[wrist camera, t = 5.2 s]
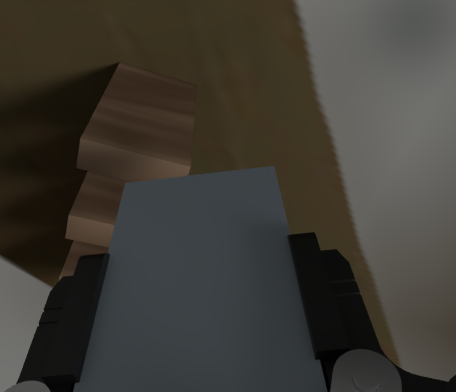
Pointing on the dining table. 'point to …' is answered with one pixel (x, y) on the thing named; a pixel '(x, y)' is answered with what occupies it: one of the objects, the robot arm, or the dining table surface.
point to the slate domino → (201, 292)
